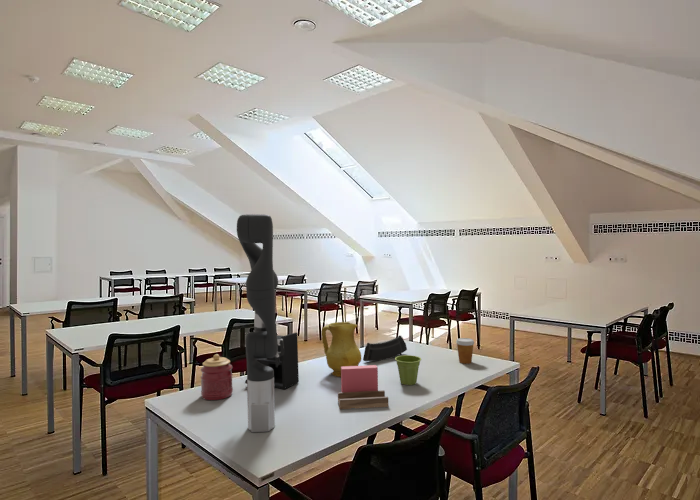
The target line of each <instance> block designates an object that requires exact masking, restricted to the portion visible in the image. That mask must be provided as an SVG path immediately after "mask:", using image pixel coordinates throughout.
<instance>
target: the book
mask: <svg viewBox="0 0 700 500" xmlns="http://www.w3.org/2000/svg"><path fill="white" fill-rule="evenodd" d="M378 369H379V368H378V366H377V365H376V364H371V365H369V364H367V365H358V366H343V367H341V377H340V378H341V379H340V380H341V381H340V385H341V386H340V387H341V391H340V392H360V391H379V374H378V373H379V370H378Z"/></svg>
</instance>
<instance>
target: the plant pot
mask: <svg viewBox="0 0 700 500" xmlns="http://www.w3.org/2000/svg"><path fill="white" fill-rule="evenodd" d="M394 361H396V365H397V369H398V376H399V381H400V382H399V383H400V384H401V385H405V386H414V385H416V384H417V382H418V381H417V380H418V375H419V367H420V364H421V361H422V358H421V357H420V356H416V355H408V354H406V355H404V354H402V355H397V356H395V358H394Z"/></svg>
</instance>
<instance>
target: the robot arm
mask: <svg viewBox="0 0 700 500" xmlns="http://www.w3.org/2000/svg"><path fill="white" fill-rule="evenodd" d="M236 234H237V238H238V241H239V243H240V245H241V247H242V250H243V251H244V254H245V255H246V257H247V258H248V259H247V260H248V262H249V265H250V269H251V270H250V272H249V273H248V276H247V277H246V281H245V288H246V289H245V290H246V300H247V303H248V304H249V306H250V307H251V308H252V310H253V311H254V319H253V320H254V323H253V324H254V326H253V327H254V331H251V332H250V331H249V332H248V333H247V334H246V337H245V357H246V379H247V383H246V385H247V386H246V391H247V395H246V396H247V429H248V430H249V431H250V432H251V433H263V432H270V431H271V430H272V429H274V428H275V426H276V425H275V424H276V419H275V418H276V417H275V416H276V415H275V414H276V413H275V387H274V370H273V368H271V367H269V366H266V365H263V364H261V363H260V362H258V361H257V359H262V358H273V357H275V356H276V358H275V359H276V367H278V365H279V357H280V356H283V355H284V344H283V339H280V340H277V335H278V333H277V322H276V308H275V307H276V306H275V305H276V304H275V299H276V298H275V293H276V292H275V290H276V289H277V288H278V285H279V277H278V276H277V273H276V271H275V269H274V264H273V263H274V260H273V254H274V253H273V250H274V248H273V247H274V237H273V236H274V225H273V219H272V217H271V215H269V214H255V213H254V214H253V213H252V214H251V213H250V214H247V213H246V214H241V215H239V216H238V218H237V221H236ZM258 244H262V247H261V246H259V245H258ZM278 345H280V350H281V352H278Z"/></svg>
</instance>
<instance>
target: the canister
mask: <svg viewBox="0 0 700 500" xmlns="http://www.w3.org/2000/svg"><path fill="white" fill-rule="evenodd" d="M232 369H233V365H232V364H231V360H230V359H228V358H227V357H223V356H220V354H218V353H216V354H214V355H213V357H211V358H208V359H206V360H205V361H204V362H202V367H201V368H200V372H201V376H200V379H201V381H200V383H201V389H200V395H201V398H202V399H203V400H206V401H218V400H224V399H227V398H229V397H231V396H232V395H233V391H234V387H233V373H232Z"/></svg>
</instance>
